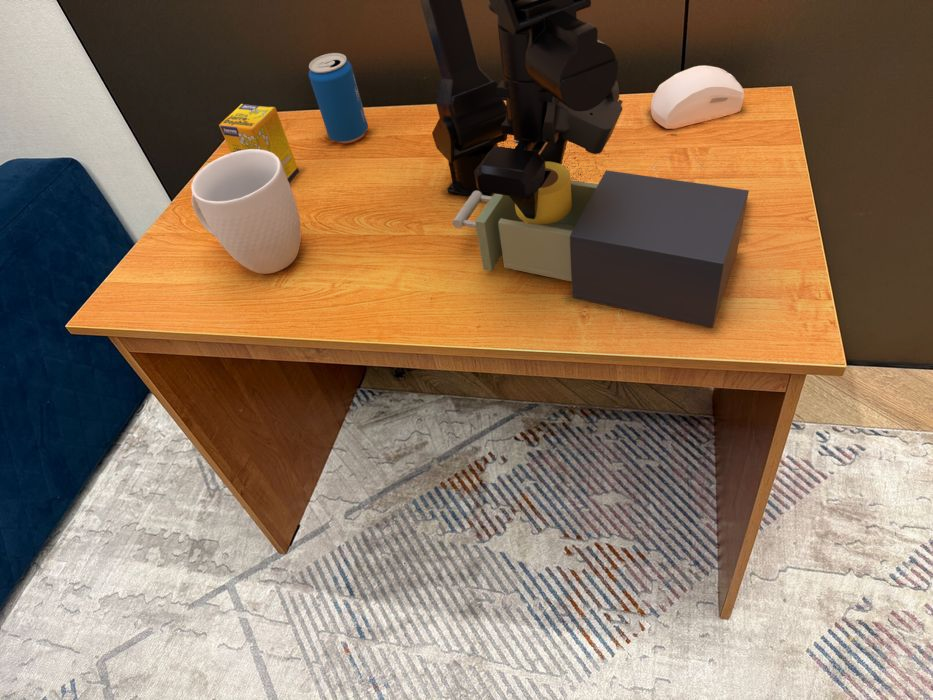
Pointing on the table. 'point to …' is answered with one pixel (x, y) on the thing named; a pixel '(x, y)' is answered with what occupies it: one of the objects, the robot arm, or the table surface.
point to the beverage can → (338, 97)
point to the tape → (552, 196)
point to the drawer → (524, 234)
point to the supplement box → (259, 134)
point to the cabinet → (657, 246)
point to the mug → (249, 209)
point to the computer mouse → (696, 97)
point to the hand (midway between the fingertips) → (542, 200)
